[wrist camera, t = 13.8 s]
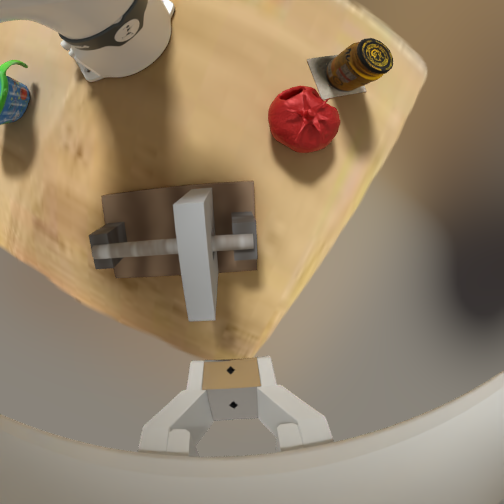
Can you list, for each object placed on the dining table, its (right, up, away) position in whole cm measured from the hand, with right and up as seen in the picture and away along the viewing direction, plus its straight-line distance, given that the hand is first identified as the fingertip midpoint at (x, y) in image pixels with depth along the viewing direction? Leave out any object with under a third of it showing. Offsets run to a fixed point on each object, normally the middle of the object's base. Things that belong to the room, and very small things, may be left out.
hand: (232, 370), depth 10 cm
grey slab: (-6, +8, +31) cm, 33 cm away
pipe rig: (-11, +8, +33) cm, 35 cm away
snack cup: (-43, +33, +21) cm, 58 cm away
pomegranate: (+8, +24, +29) cm, 38 cm away
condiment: (+14, +33, +26) cm, 45 cm away
